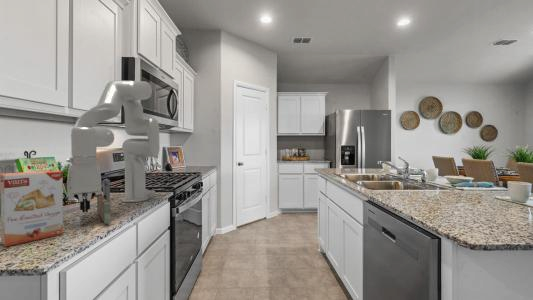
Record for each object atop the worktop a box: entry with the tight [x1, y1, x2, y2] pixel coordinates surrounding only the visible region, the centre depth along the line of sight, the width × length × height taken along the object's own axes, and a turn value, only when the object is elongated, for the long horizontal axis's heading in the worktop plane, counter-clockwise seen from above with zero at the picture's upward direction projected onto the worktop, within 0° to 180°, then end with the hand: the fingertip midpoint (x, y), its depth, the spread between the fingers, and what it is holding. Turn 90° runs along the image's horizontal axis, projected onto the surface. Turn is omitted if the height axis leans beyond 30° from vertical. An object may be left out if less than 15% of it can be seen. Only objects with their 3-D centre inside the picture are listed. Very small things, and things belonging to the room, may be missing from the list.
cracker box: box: [0, 169, 64, 247], centre depth 84 cm, size 14×6×21 cm, turn 143°
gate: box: [96, 193, 112, 225], centre depth 105 cm, size 21×2×7 cm, turn 39°
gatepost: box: [101, 178, 111, 203], centre depth 114 cm, size 3×3×14 cm
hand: (85, 211), depth 98 cm, fingers closed
